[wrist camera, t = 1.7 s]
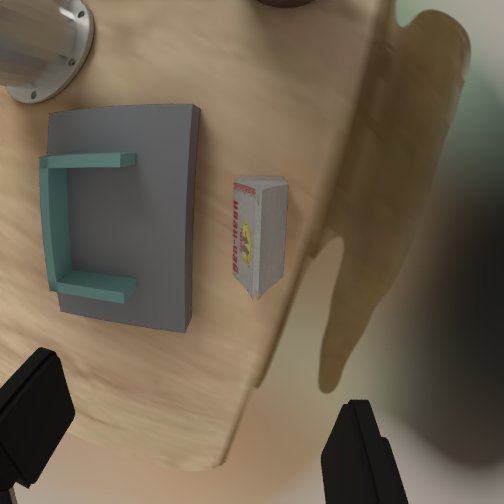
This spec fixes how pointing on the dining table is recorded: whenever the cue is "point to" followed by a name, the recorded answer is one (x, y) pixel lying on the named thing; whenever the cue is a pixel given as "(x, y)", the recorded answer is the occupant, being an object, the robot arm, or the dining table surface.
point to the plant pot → (285, 3)
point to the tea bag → (259, 231)
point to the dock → (121, 212)
